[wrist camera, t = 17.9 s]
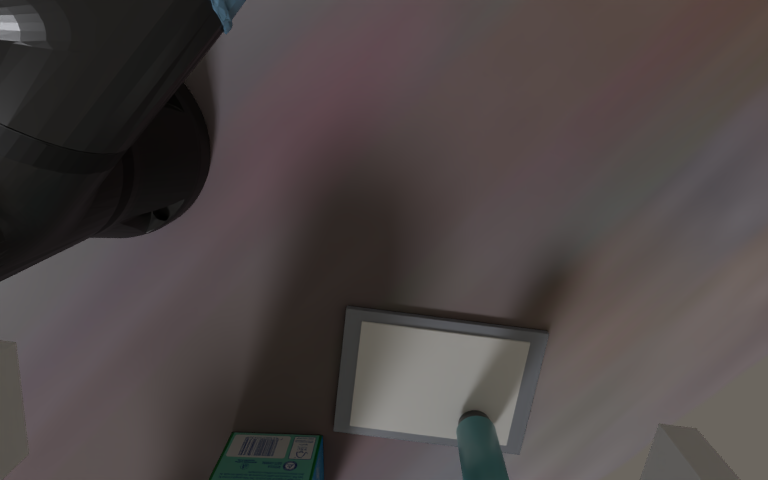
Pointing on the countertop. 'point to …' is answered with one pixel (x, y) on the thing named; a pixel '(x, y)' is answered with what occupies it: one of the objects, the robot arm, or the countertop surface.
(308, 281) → the countertop surface
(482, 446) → the teal and grey cylinder
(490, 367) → the writing board
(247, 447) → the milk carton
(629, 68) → the countertop surface
